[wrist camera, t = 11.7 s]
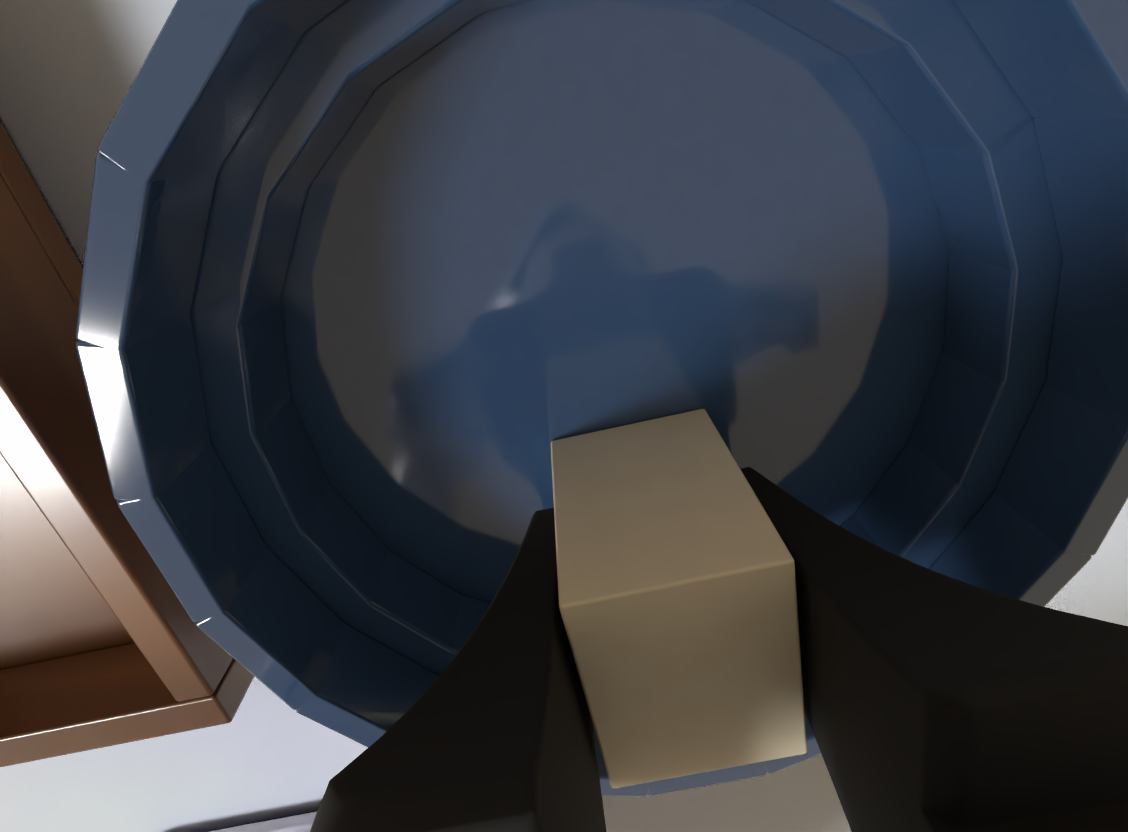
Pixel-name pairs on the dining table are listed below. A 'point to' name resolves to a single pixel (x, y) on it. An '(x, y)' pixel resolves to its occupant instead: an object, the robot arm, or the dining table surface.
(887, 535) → the bowl
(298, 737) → the dining table surface
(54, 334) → the holder
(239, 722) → the dining table surface
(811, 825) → the dining table surface
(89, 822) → the dining table surface
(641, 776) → the packet cream
